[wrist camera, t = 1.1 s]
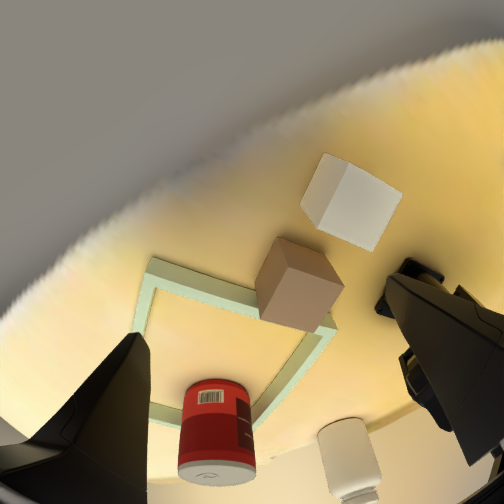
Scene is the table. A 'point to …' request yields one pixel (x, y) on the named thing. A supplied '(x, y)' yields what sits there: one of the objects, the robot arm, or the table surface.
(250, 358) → the table surface
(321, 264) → the brown carton
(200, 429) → the canned food
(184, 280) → the mint green rectangular frame
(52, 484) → the robot arm
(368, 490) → the pill bottle
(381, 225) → the white block
